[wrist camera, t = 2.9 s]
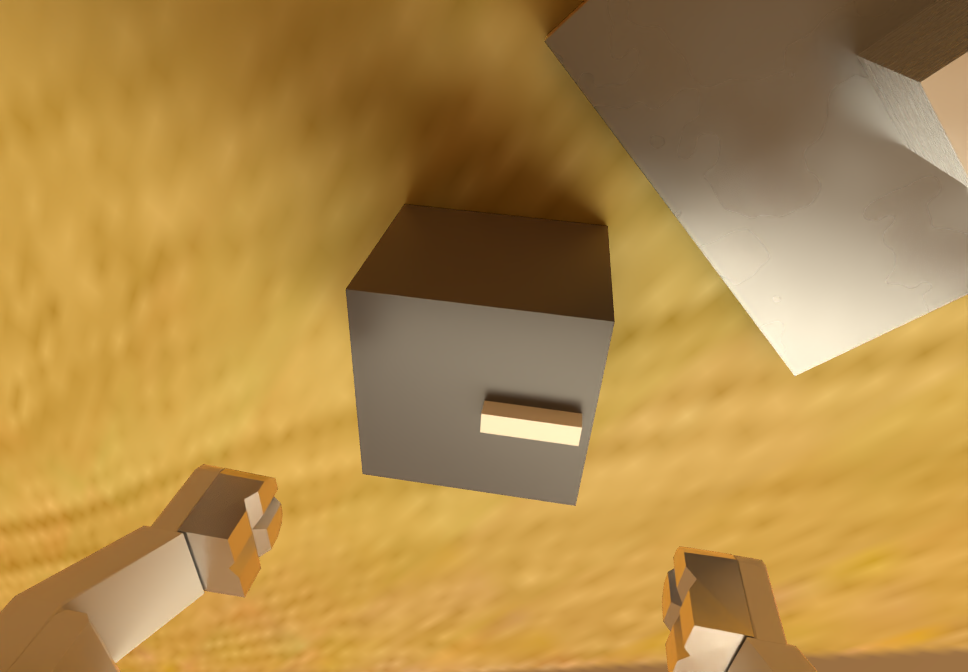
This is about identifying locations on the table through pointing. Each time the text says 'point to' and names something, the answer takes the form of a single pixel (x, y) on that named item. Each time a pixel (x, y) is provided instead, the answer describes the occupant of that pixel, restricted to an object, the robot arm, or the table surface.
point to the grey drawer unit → (481, 350)
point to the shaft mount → (796, 149)
